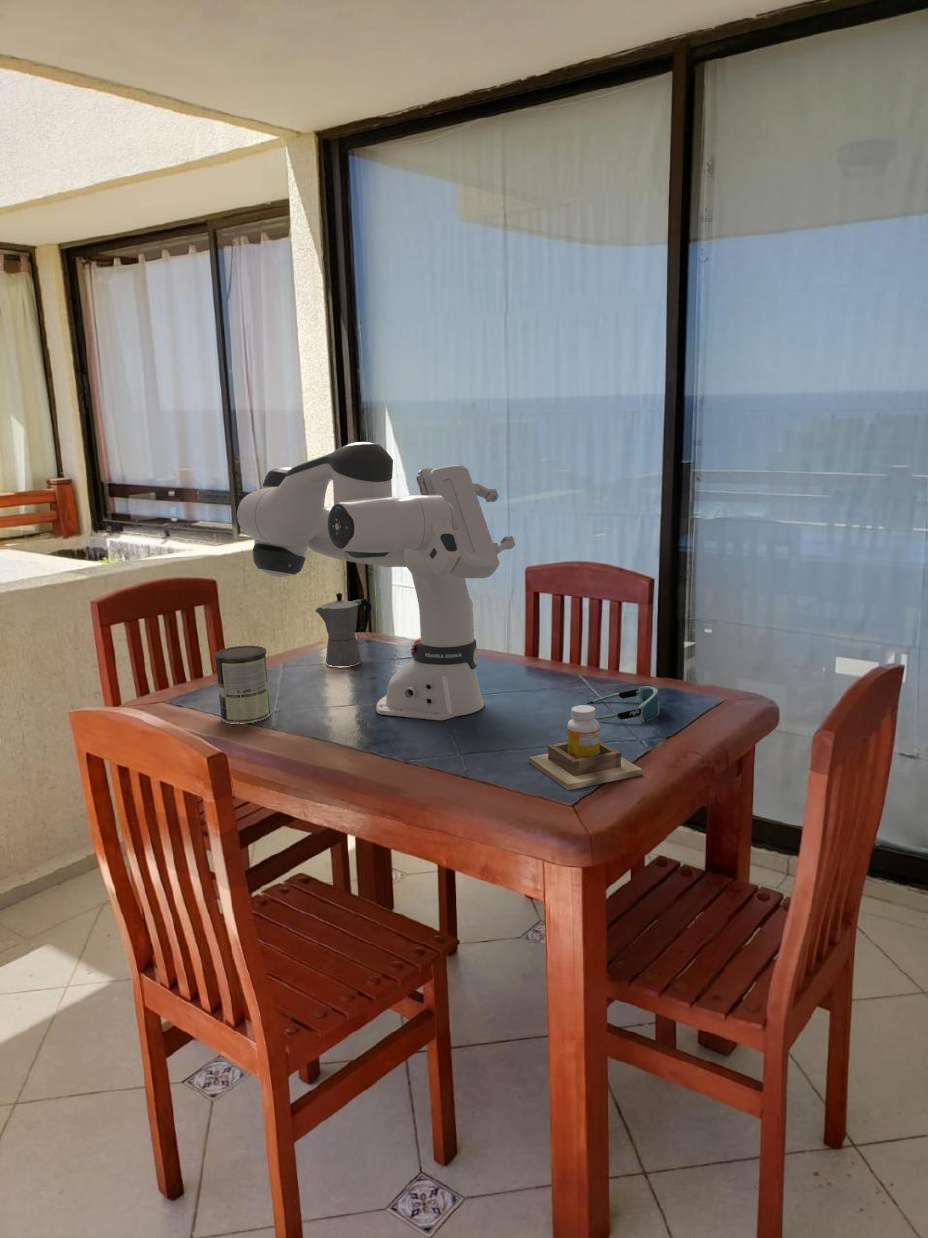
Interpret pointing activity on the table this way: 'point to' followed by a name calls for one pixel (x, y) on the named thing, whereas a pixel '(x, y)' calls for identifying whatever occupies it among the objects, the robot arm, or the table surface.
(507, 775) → the table surface
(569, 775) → the collar board
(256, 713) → the coffee can
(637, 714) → the sunglasses
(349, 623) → the coffeepot
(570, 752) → the supplement bottle
